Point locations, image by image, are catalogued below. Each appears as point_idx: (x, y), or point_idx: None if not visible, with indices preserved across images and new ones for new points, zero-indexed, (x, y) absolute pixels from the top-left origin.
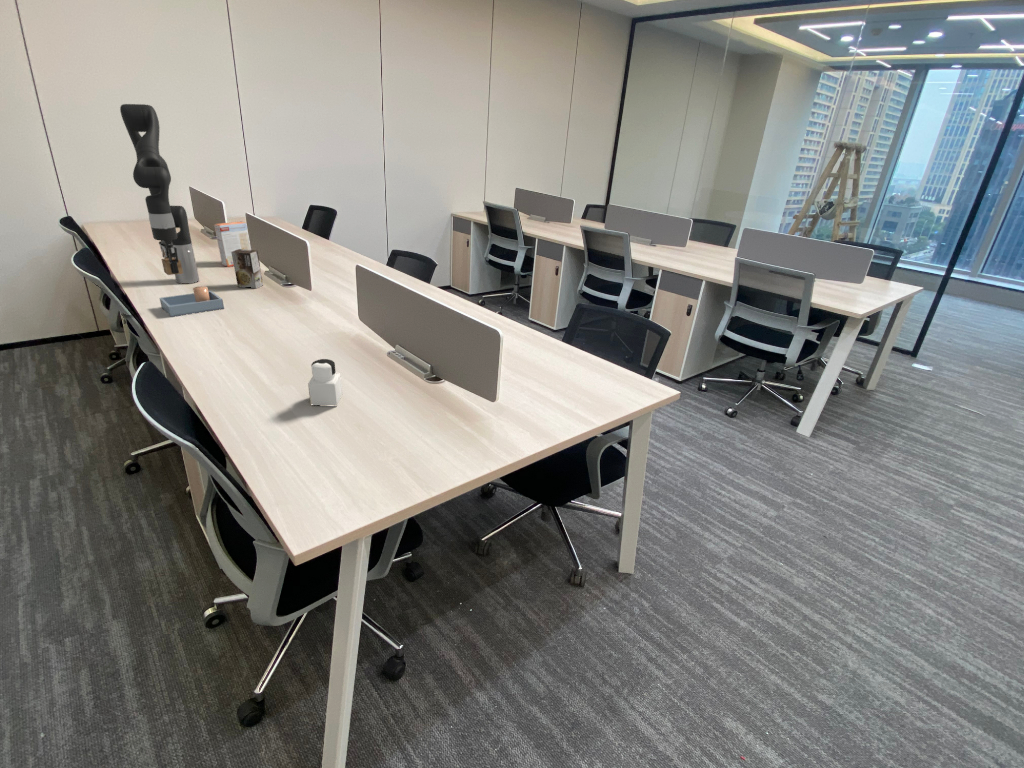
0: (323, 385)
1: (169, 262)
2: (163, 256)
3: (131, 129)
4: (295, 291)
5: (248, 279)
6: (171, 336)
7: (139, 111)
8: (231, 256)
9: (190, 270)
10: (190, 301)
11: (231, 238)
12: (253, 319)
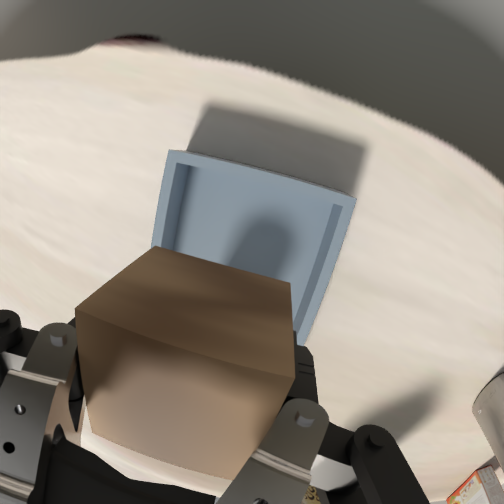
0: None
1: (52, 329)
2: (359, 438)
3: None
4: (196, 486)
5: (308, 489)
6: (33, 86)
7: None
8: (474, 492)
9: (492, 425)
10: (301, 304)
11: None
12: (33, 313)
